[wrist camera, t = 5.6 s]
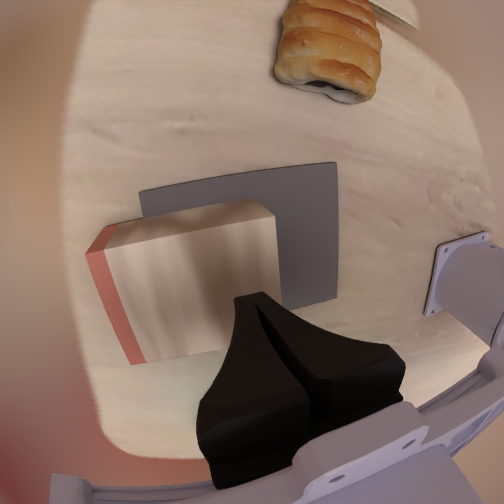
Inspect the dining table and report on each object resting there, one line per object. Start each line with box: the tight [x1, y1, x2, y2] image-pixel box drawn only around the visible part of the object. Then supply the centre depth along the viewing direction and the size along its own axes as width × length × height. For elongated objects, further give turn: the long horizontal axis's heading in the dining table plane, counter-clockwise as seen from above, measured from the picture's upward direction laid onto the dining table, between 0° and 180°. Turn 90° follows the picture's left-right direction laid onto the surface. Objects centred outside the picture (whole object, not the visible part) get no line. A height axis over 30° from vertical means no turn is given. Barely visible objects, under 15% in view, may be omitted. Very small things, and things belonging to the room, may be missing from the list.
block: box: [85, 198, 282, 365], centre depth 16 cm, size 4×7×9 cm
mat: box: [139, 162, 338, 310], centre depth 19 cm, size 12×10×1 cm
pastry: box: [274, 0, 382, 104], centre depth 13 cm, size 9×7×4 cm
